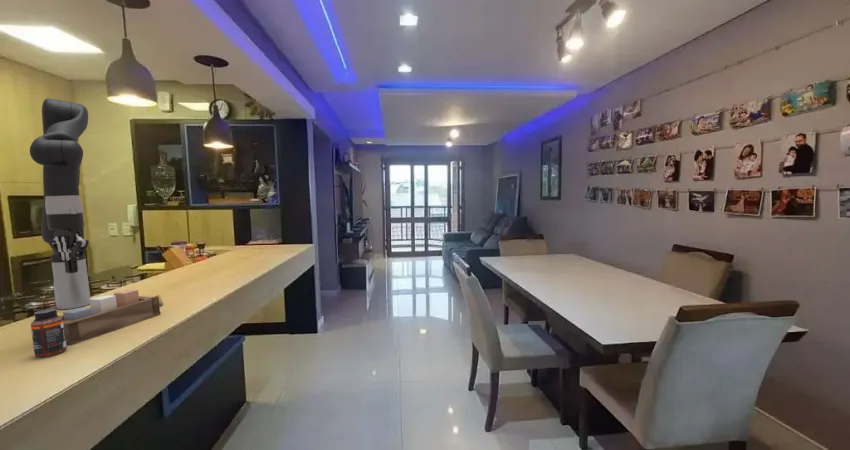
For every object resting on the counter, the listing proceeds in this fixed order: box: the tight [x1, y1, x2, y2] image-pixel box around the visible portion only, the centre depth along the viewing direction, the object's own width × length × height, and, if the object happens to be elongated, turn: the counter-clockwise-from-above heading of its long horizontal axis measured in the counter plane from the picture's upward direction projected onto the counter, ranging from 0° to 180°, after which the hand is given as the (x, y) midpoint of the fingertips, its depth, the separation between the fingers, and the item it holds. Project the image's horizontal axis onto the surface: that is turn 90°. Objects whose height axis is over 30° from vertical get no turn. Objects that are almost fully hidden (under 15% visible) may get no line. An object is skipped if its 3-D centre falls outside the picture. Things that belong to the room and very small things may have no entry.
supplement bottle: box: [30, 308, 68, 358], centre depth 98 cm, size 6×6×11 cm
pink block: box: [113, 289, 140, 307], centre depth 124 cm, size 4×4×5 cm
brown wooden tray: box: [60, 295, 161, 346], centre depth 118 cm, size 12×26×6 cm, turn 164°
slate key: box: [62, 307, 92, 321], centre depth 111 cm, size 4×4×5 cm
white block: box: [89, 295, 117, 315], centre depth 117 cm, size 4×4×5 cm
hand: (72, 272), depth 109 cm, fingers closed
